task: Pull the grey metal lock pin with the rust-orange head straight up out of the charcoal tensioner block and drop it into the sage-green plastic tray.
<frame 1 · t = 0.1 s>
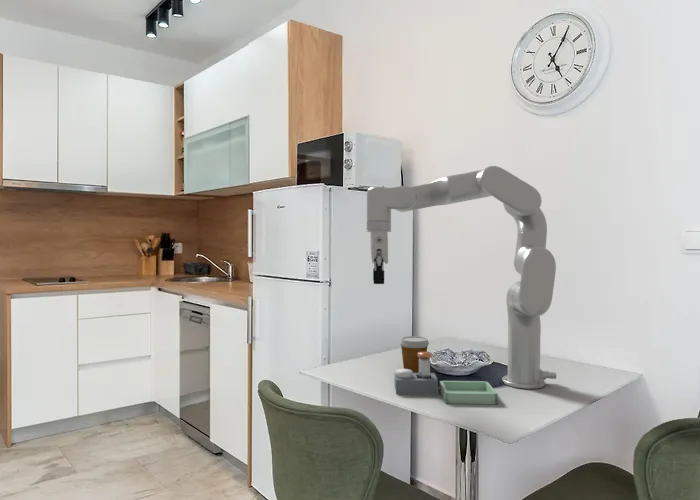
hand: (378, 282, 159), 31 cm above the table, fingers open, 9 cm apart
tray: (467, 396, 145), on the table
disposable coffee cup: (414, 375, 168), on the table
tensioner block: (415, 389, 152), on the table
lock pin: (424, 390, 152), resting in tensioner block
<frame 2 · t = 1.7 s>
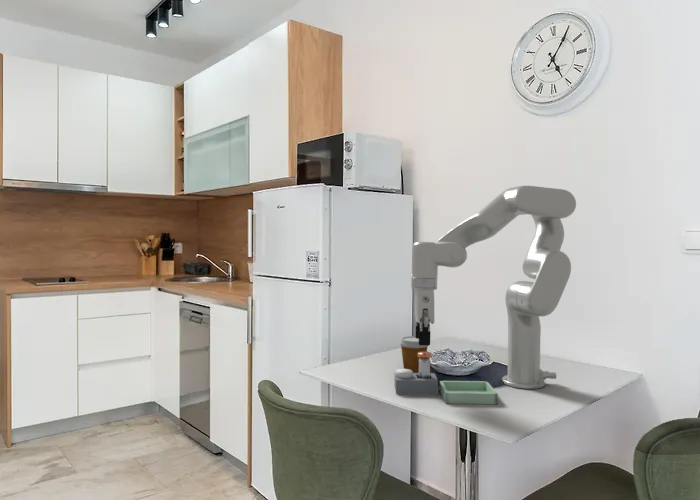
hand: (422, 341, 151), 14 cm above the table, fingers open, 9 cm apart
nothing on the table moved.
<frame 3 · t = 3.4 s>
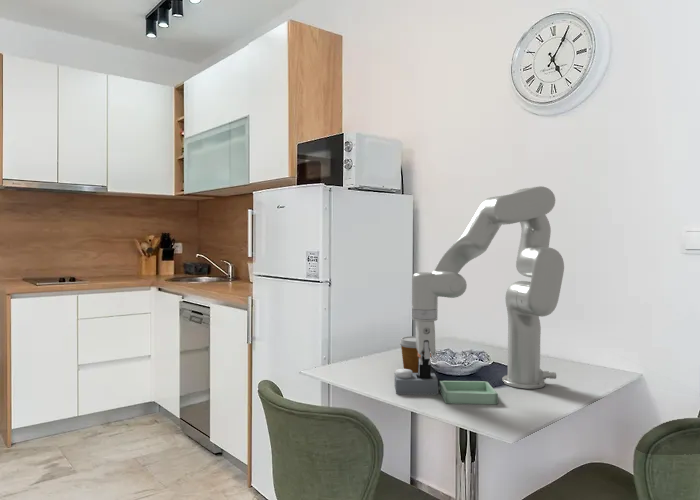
hand: (424, 375, 151), 4 cm above the table, fingers closed on lock pin, 3 cm apart
lock pin: (424, 390, 152), resting in tensioner block, touching gripper
everything else where it was.
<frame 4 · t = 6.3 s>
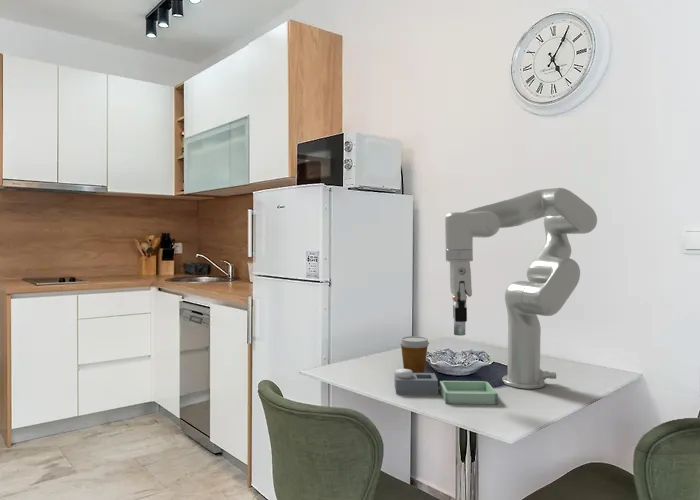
hand: (460, 319, 146), 22 cm above the table, fingers closed on lock pin, 3 cm apart
lock pin: (459, 334, 146), point 17 cm above the table, touching gripper
everything else where it was.
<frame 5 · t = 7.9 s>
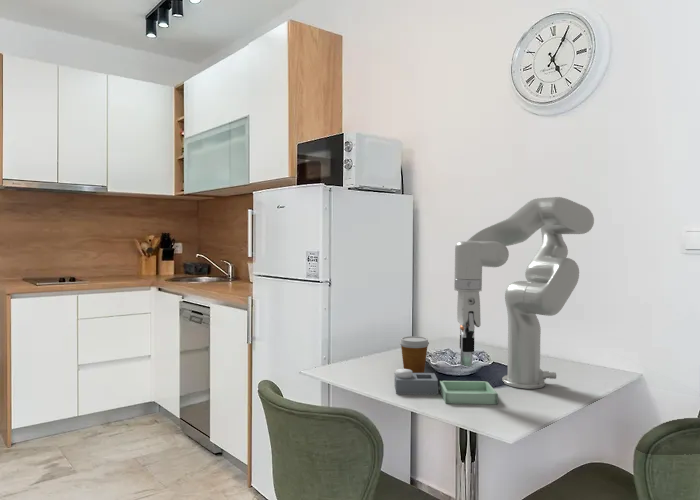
hand: (466, 349, 145), 13 cm above the table, fingers closed on lock pin, 3 cm apart
lock pin: (466, 364, 145), point 9 cm above the table, touching gripper
everything else where it was.
when the fingers open (7 cm above the table, at t = 9.2 s): lock pin drops 2 cm, resting on tray.
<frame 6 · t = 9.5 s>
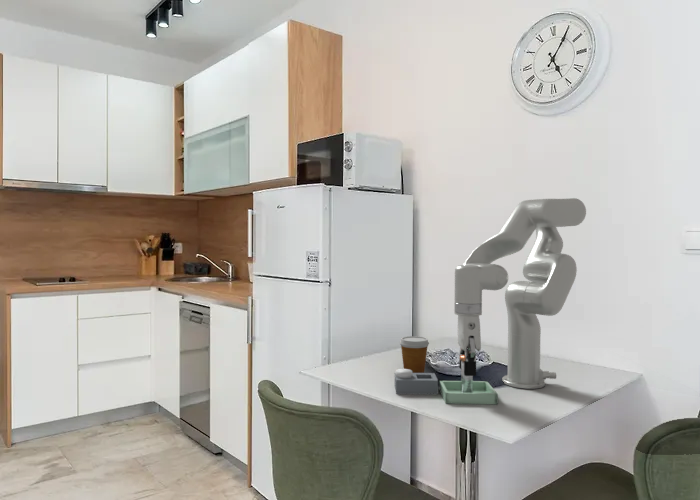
hand: (467, 371, 145), 7 cm above the table, fingers open, 6 cm apart
lock pin: (467, 394, 145), point 1 cm above the table, touching tray
everything else where it was.
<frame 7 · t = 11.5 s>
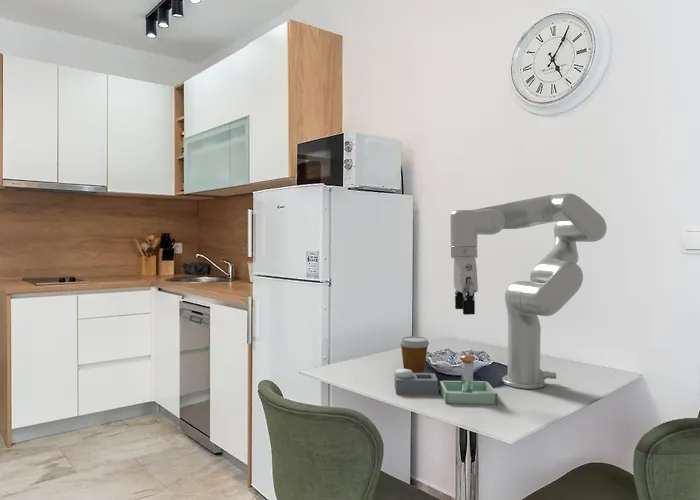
hand: (464, 311, 149), 24 cm above the table, fingers open, 9 cm apart
nothing on the table moved.
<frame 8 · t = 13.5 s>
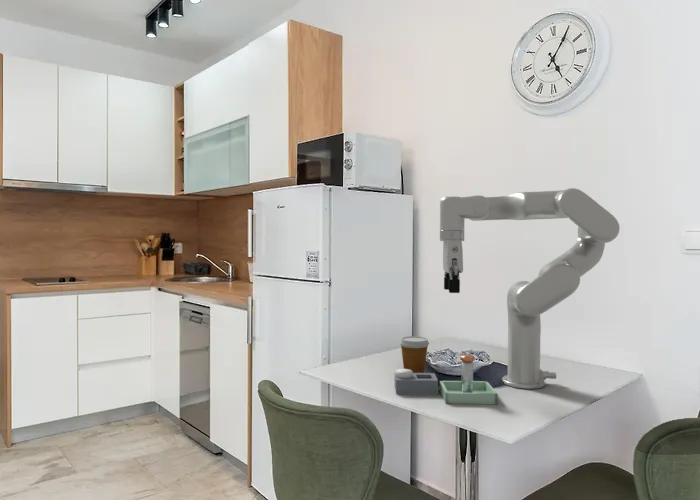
hand: (451, 291, 160), 28 cm above the table, fingers open, 9 cm apart
nothing on the table moved.
at the end: lock pin inside the target area on the tray (0.1 cm from its centre), point 0.6 cm above the tray's base; the gripper is holding nothing; lock pin touching tray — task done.
